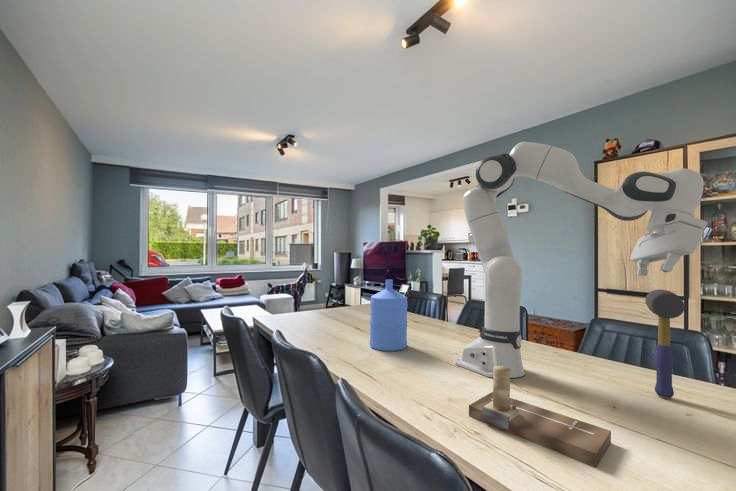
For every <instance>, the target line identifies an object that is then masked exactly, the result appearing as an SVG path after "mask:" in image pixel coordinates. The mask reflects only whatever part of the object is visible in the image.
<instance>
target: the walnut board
mask: <svg viewBox="0 0 736 491" xmlns="http://www.w3.org/2000/svg"><path fill="white" fill-rule="evenodd" d="M492 401H493V391H491V392H490V393H487V394H486V395H484V396H482V397H481V398H479V399H478V400H476V401H474V402H473V403H470V404H469V405H468V417H471V418H473V419H476V420H478V421H481V422H483V423H486V424H487V425H491V426H492V427H495V428H497V429H501V430H503V431H505V432H508V433H510V434H512V435H515V436H517V437H520V438H523V439H526V440H528V441H530V442H533V443H535V444H537V445H540V446H543V447H545V448H548V449H549V450H553V451H554V452H557V453H560V454H562V455H565V456H567V457H569V458H572V459H575V460H577V461H580V462H581V463H584V464H587V465H589V466H592V467H595V468H597V467H598V465H599V464H600V462H601V460H602V459H603V457H604V455H605V453H606V452H607V450H608V449H609V447H610V445H611V443H612V430H610V429H607V428H604V427H600V426H598V425H595V424H591V423H589V422H585V421H582V420H579V419H576V418H573V417H570V416H567V415H564V414H562V413H559V412H556V411H555V412H554V411H552V410H549V409H545V408H543V407H539V406H537V405H533V404H530V403H527V402H524V401H522V400H518V399H516V398H513V397H510V406H512V405H516V408H518V409H519V414H518V415H517V416H516V417H515V418H513V419H512V420H511V421H509V429H506V428H503V427H501V426H498V425H496V424H493V423H491V422H488V421H486V420H483V419H482V407H484V406H485V405H487V404H489V403H490V402H492Z"/></svg>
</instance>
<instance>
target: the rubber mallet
mask: <svg viewBox="0 0 736 491" xmlns="http://www.w3.org/2000/svg"><path fill="white" fill-rule="evenodd" d="M645 305H646V306H647V308H648V309H649V311H650V312H651V313H652V314H655V316H658V317H657V325H658V326H657V328H658V330H657V332H658V333H657V334H658V335H657V344H656V347H655V356H654V363H655V369H656V379H655V380H656V382H655V387H654V391H655V393H656V394H657V396H658V397H659V398H662V399H666V400H671V399H672V398H673V397H674V395H675V391H674V388H673V369H674V356H673V349H672V346H671V319H674V318H678V317H680V316H682V314H683V313H684V311H685V308H686V306H685V302H684V301H683V299H682V298H681V297H680V296H678V295H677V294H676V293H675V292H673V291H671V290H665V289H655V290H651V291H650V292H648V293H647V294H646V296H645Z"/></svg>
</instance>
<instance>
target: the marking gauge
mask: <svg viewBox="0 0 736 491" xmlns="http://www.w3.org/2000/svg"><path fill="white" fill-rule="evenodd" d="M492 378H493V380H492V381H493V382H492V392H493V401H492V402H490V403H489V404H487V405H485V406H484V407H482V419H483V420H486V421H488V422H491V423H493V424H496V425H498V426H501V427H503V428H506V429H509V421H511V420H512V419H513V418H515V417H516V416H517V415H518V414H519V409H518V408H516V405H512V406H510V398H511V378H510V369H509V368H507V367H504V366H494V367H493V377H492Z"/></svg>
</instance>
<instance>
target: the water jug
mask: <svg viewBox="0 0 736 491" xmlns="http://www.w3.org/2000/svg"><path fill="white" fill-rule="evenodd" d="M393 281H394V279H391V278H389V279H385V283H384V284H385V288H384V289H383V290H380V291H379V292H377V293H375V294H372V295H371V296H370V303H369V304H370V320H369V329H370V330H369V335H370V336H369V345H370V348H373V349H374V350H378V351H382V352H397V351H402V350H405V349H406V348H407V347H408V341H407V336H408V335H407V334H408V333H407V332H408V331H407V330H408V297H407V296H406V295H404V294H402V293H400V292H398V291H397V290H394V288H393V285H394V283H393Z"/></svg>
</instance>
